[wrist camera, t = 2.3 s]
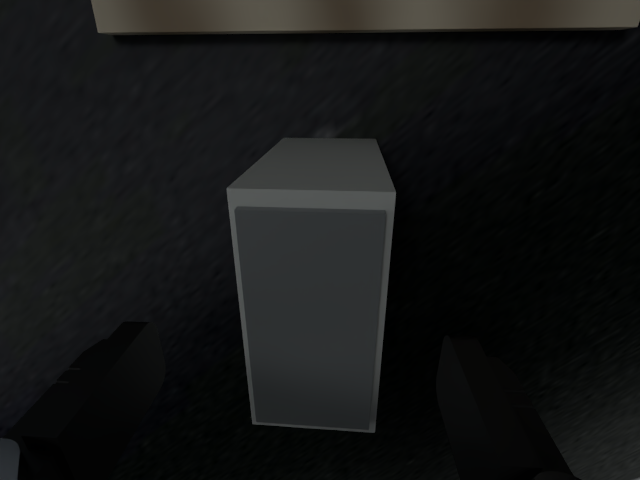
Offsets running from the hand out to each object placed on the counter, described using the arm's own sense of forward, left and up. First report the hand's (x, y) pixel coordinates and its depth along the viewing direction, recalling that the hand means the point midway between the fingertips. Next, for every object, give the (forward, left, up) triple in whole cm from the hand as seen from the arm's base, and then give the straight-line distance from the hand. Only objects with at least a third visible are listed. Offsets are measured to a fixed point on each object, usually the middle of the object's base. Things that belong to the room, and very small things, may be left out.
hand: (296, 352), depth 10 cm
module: (0, 0, -10) cm, 10 cm away
